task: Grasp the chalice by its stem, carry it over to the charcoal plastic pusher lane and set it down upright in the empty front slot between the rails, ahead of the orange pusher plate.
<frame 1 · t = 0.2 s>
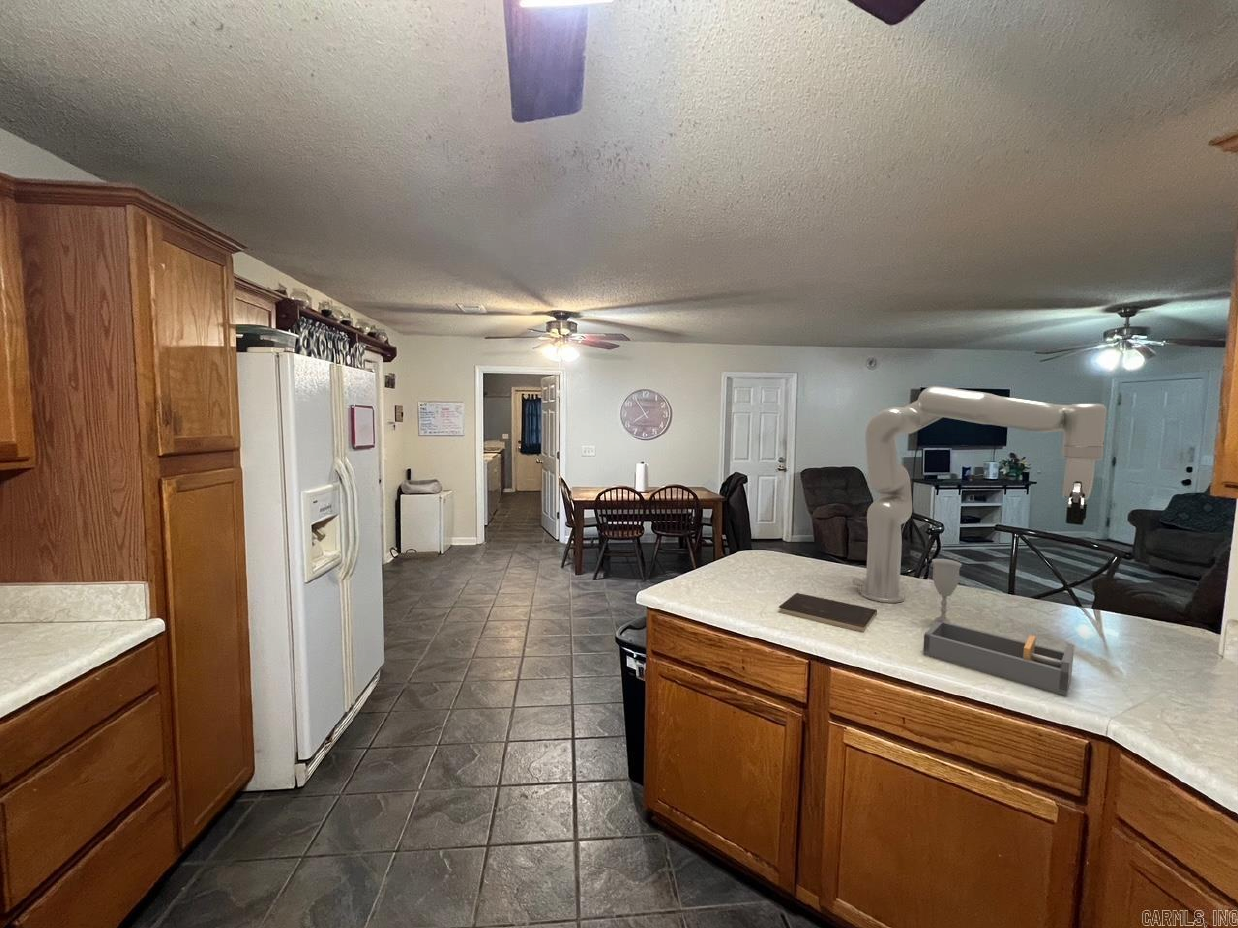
hand: (1075, 521, 128), 31 cm above the counter, tool pointing down, fingers open, 9 cm apart
chalice: (942, 627, 139), on the counter
pusher: (1043, 658, 111), point 4 cm above the counter, slide at 0.0 cm
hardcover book: (827, 616, 148), on the counter
lane: (994, 664, 117), on the counter
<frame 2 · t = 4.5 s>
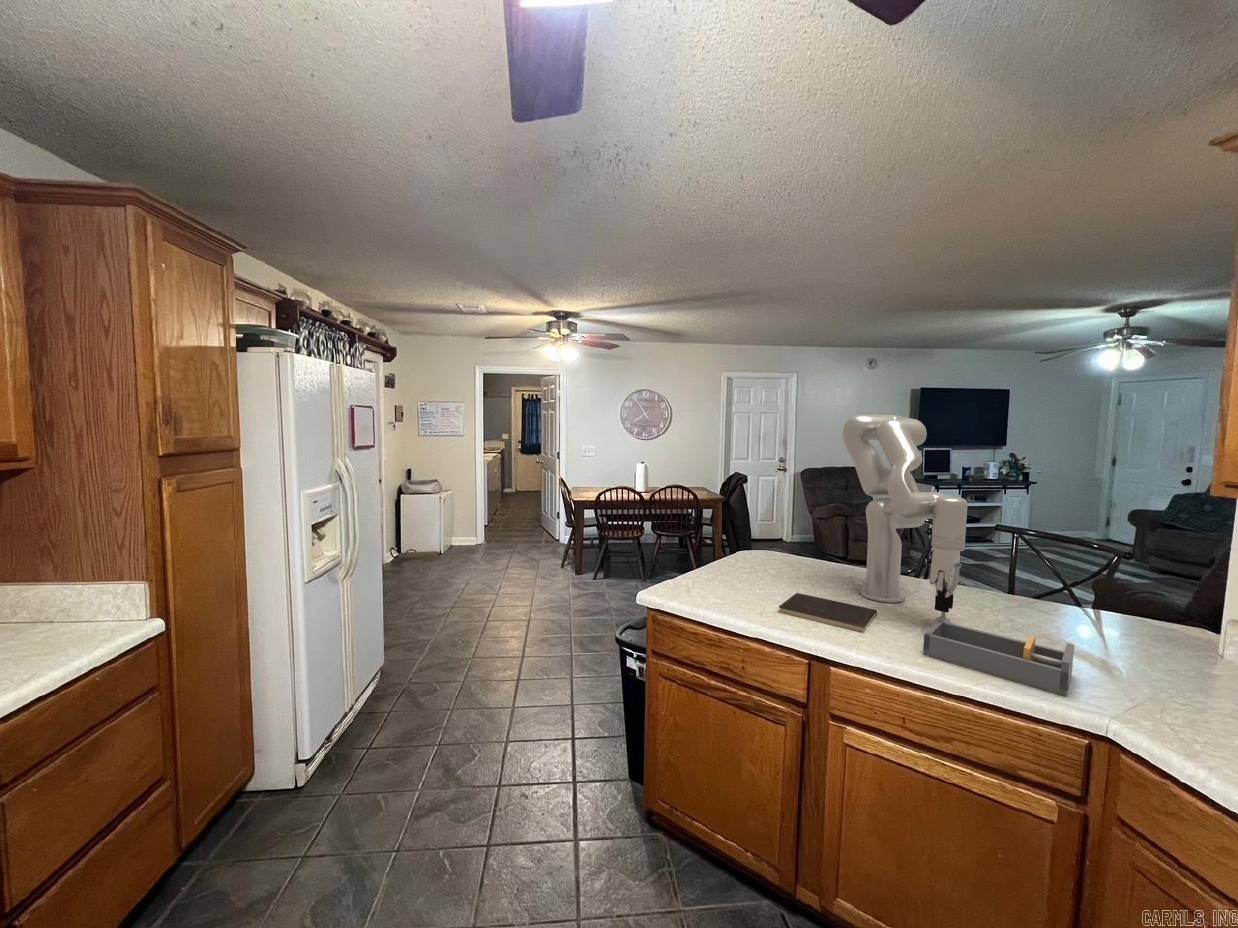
hand: (943, 608, 138), 5 cm above the counter, tool pointing down, fingers closed on chalice, 3 cm apart
chalice: (942, 627, 139), on the counter, touching gripper
everything else where it was.
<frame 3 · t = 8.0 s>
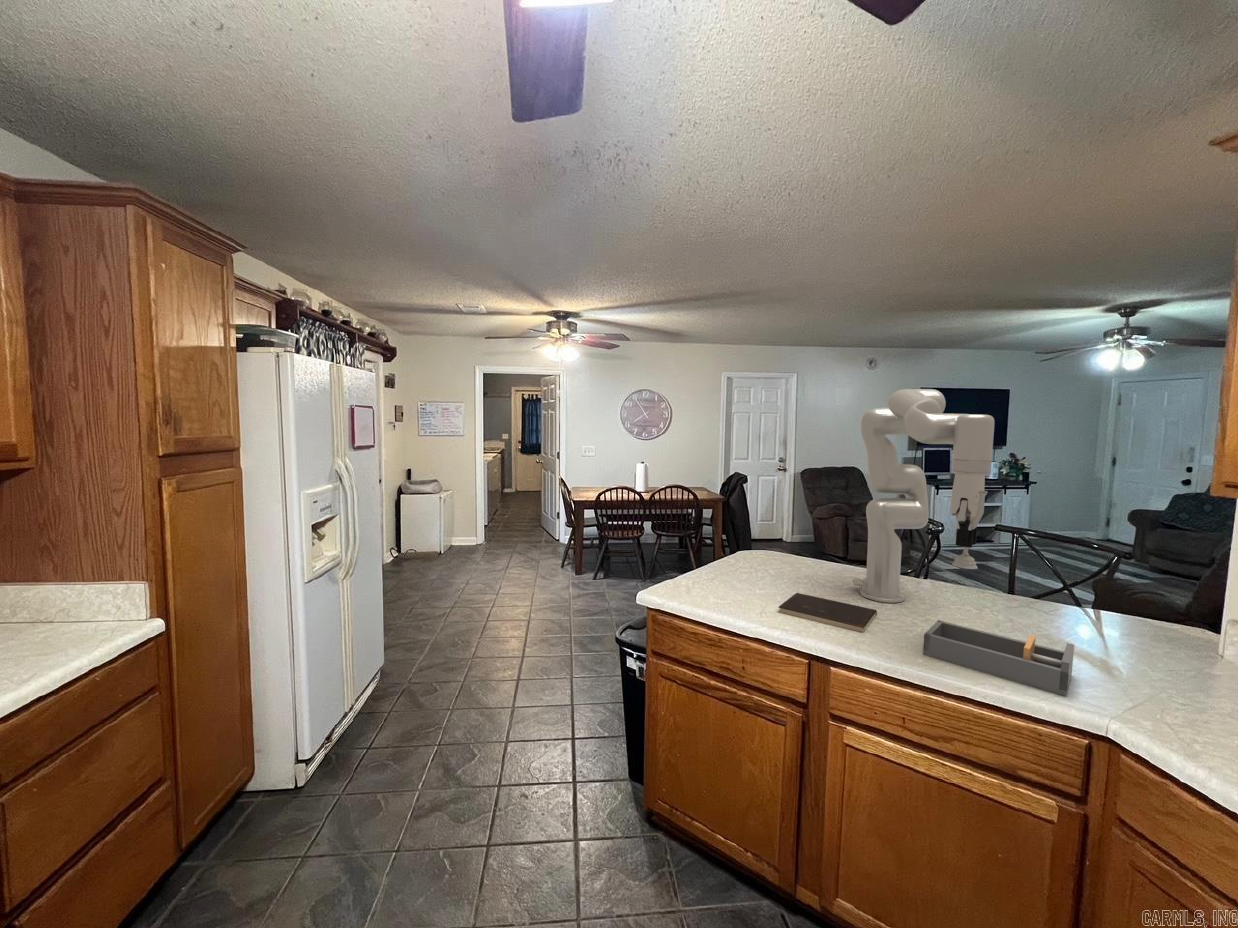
hand: (965, 544, 120), 27 cm above the counter, tool pointing down, fingers closed on chalice, 3 cm apart
chalice: (964, 566, 121), point 21 cm above the counter, touching gripper
everything else where it was.
when the fingers open (8 cm above the counter, at t = 11.9 s): chalice drops 1 cm, resting on lane.
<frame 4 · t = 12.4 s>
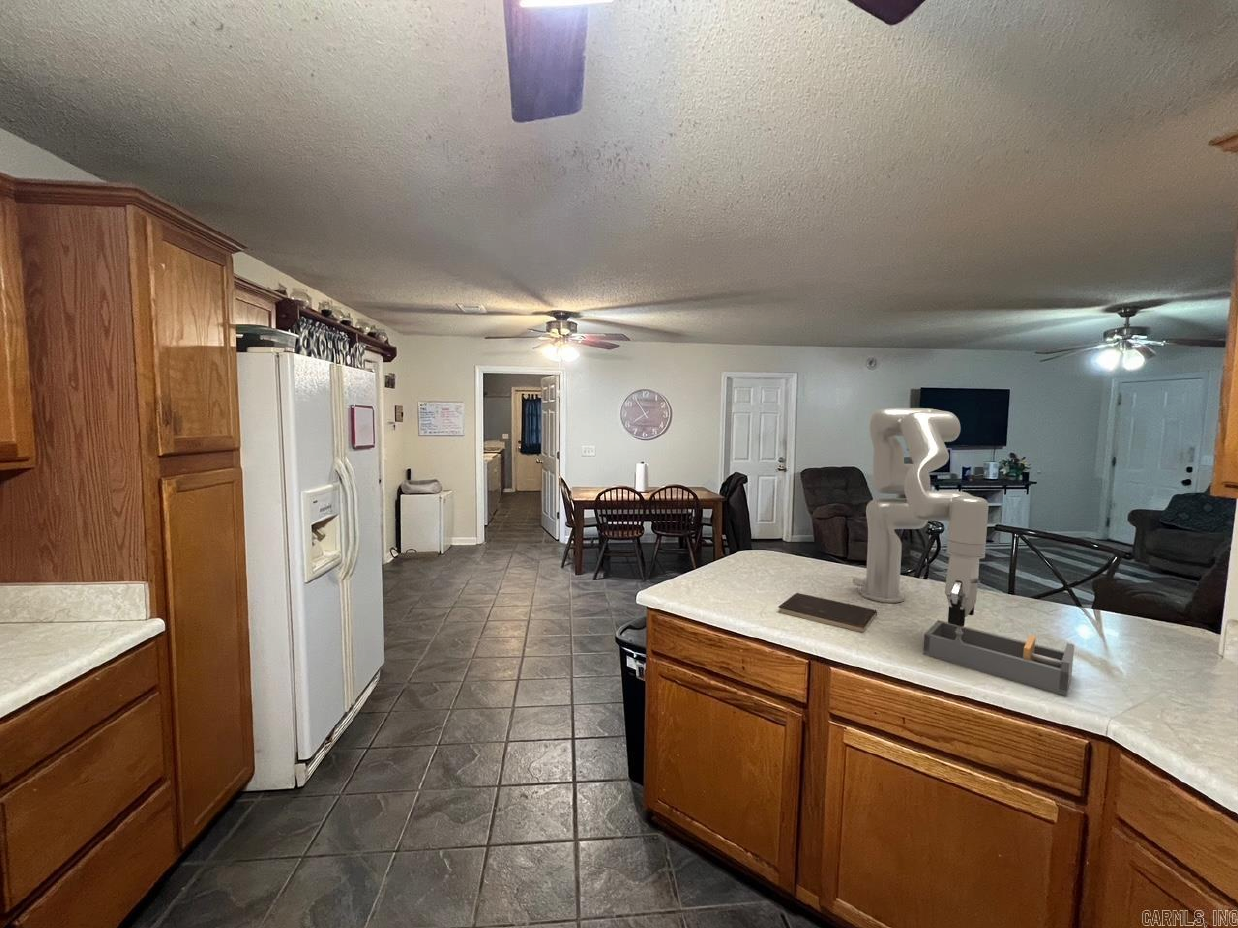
hand: (960, 618, 122), 9 cm above the counter, tool pointing down, fingers open, 9 cm apart
chalice: (957, 652, 121), point 1 cm above the counter, touching lane
everything else where it was.
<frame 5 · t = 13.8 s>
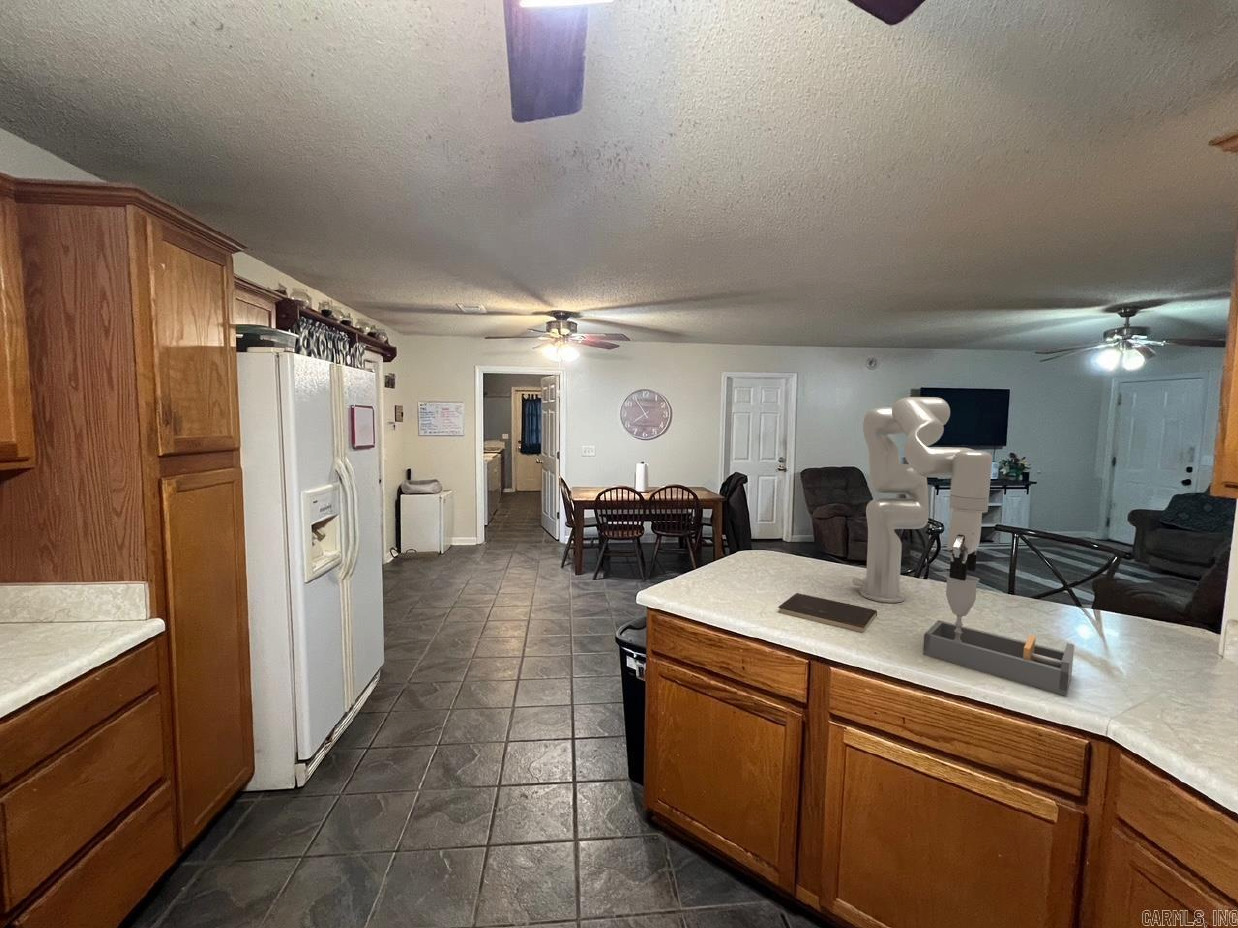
hand: (962, 574, 121), 20 cm above the counter, tool pointing down, fingers open, 9 cm apart
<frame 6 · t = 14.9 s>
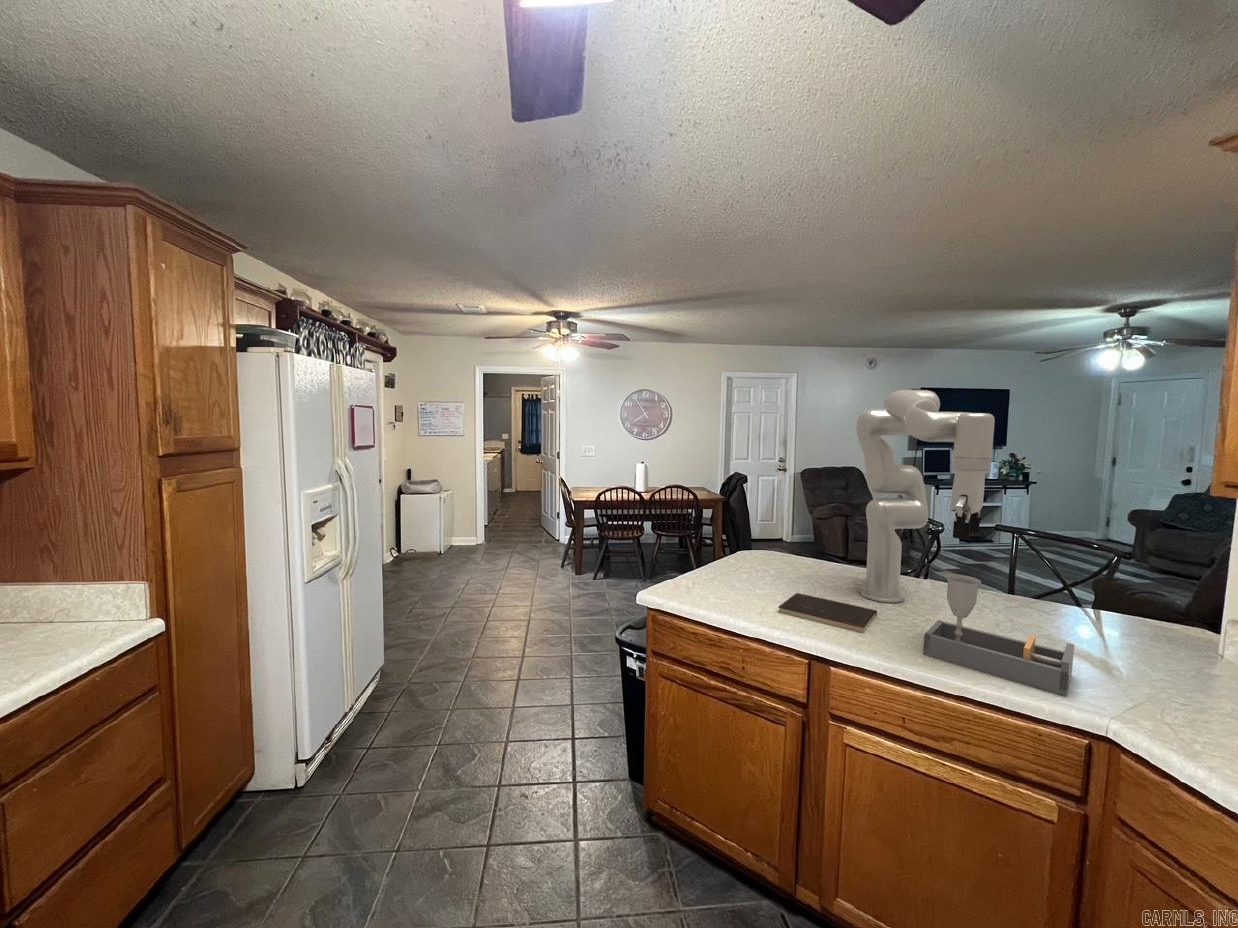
hand: (965, 535, 123), 28 cm above the counter, tool pointing down, fingers open, 9 cm apart
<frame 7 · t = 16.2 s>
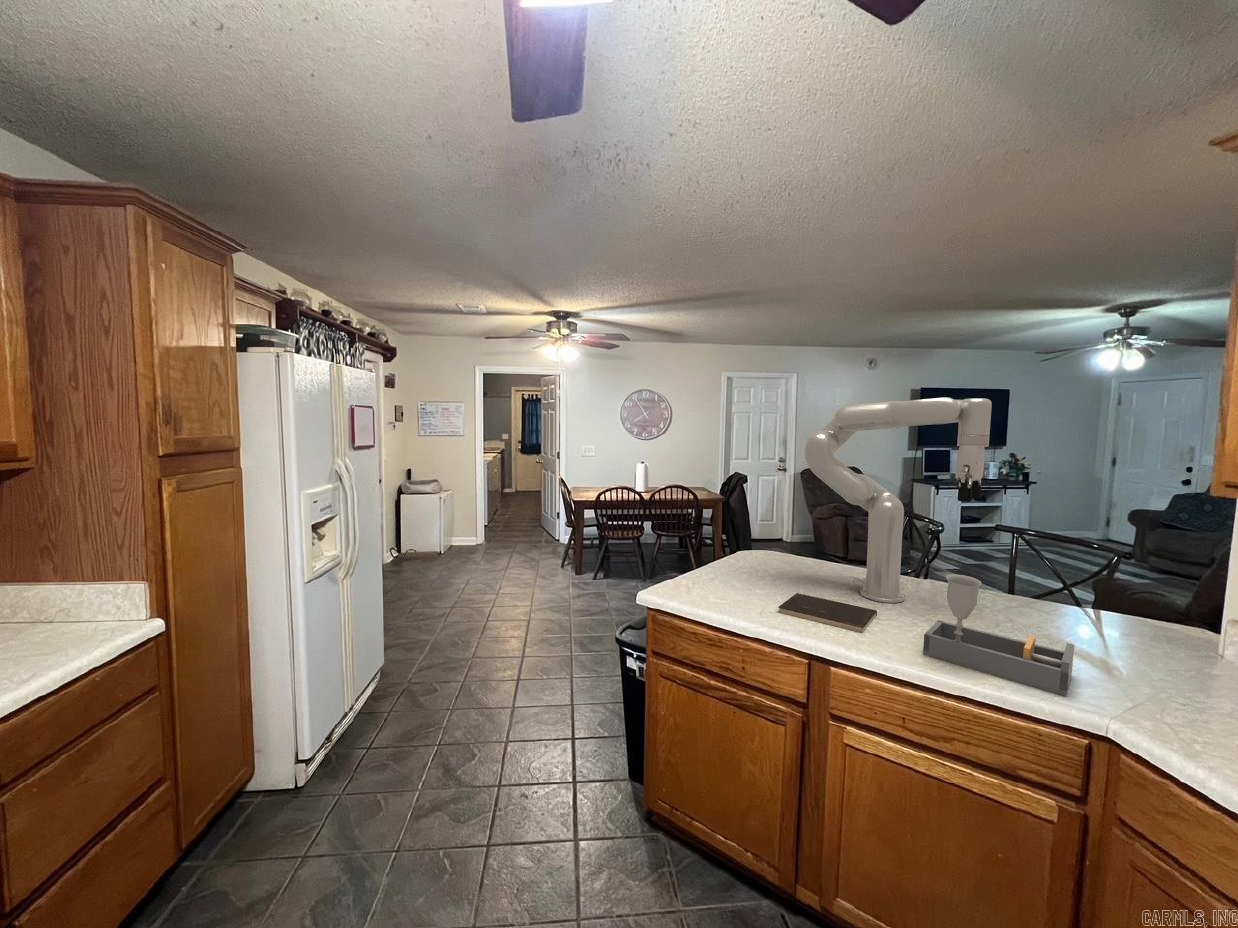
hand: (969, 499, 149), 33 cm above the counter, tool pointing down, fingers open, 9 cm apart
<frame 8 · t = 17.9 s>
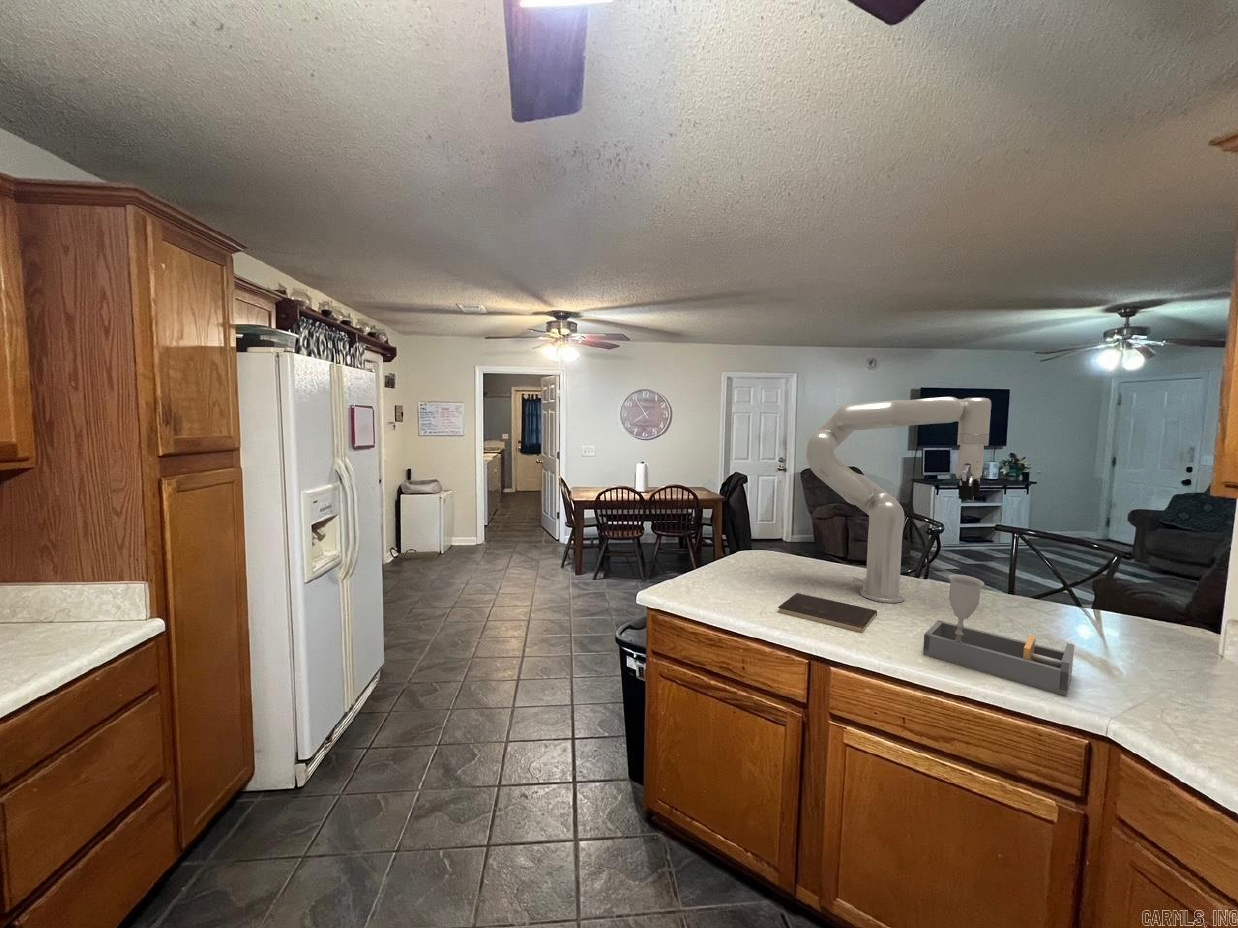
hand: (969, 497, 151), 33 cm above the counter, tool pointing down, fingers open, 9 cm apart
at the end: chalice inside the target area on the lane (2.3 cm from its centre), point 1.0 cm above the lane's base; chalice tilted 4°; the gripper is holding nothing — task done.
